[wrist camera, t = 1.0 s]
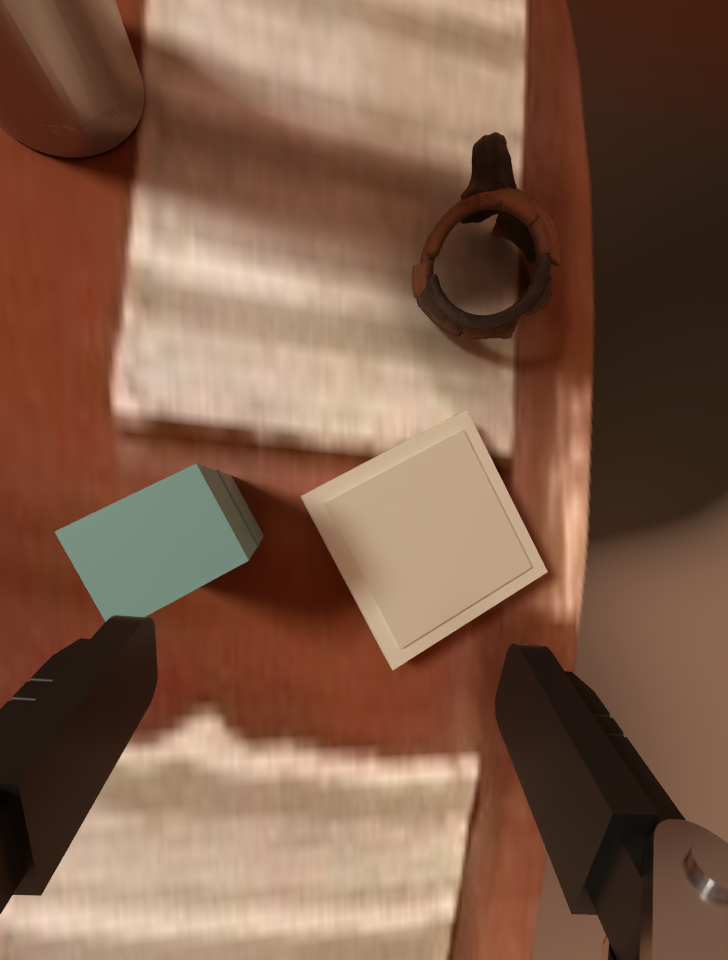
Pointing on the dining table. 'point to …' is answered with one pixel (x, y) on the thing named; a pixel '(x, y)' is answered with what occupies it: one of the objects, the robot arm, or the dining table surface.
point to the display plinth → (425, 537)
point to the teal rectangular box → (162, 541)
